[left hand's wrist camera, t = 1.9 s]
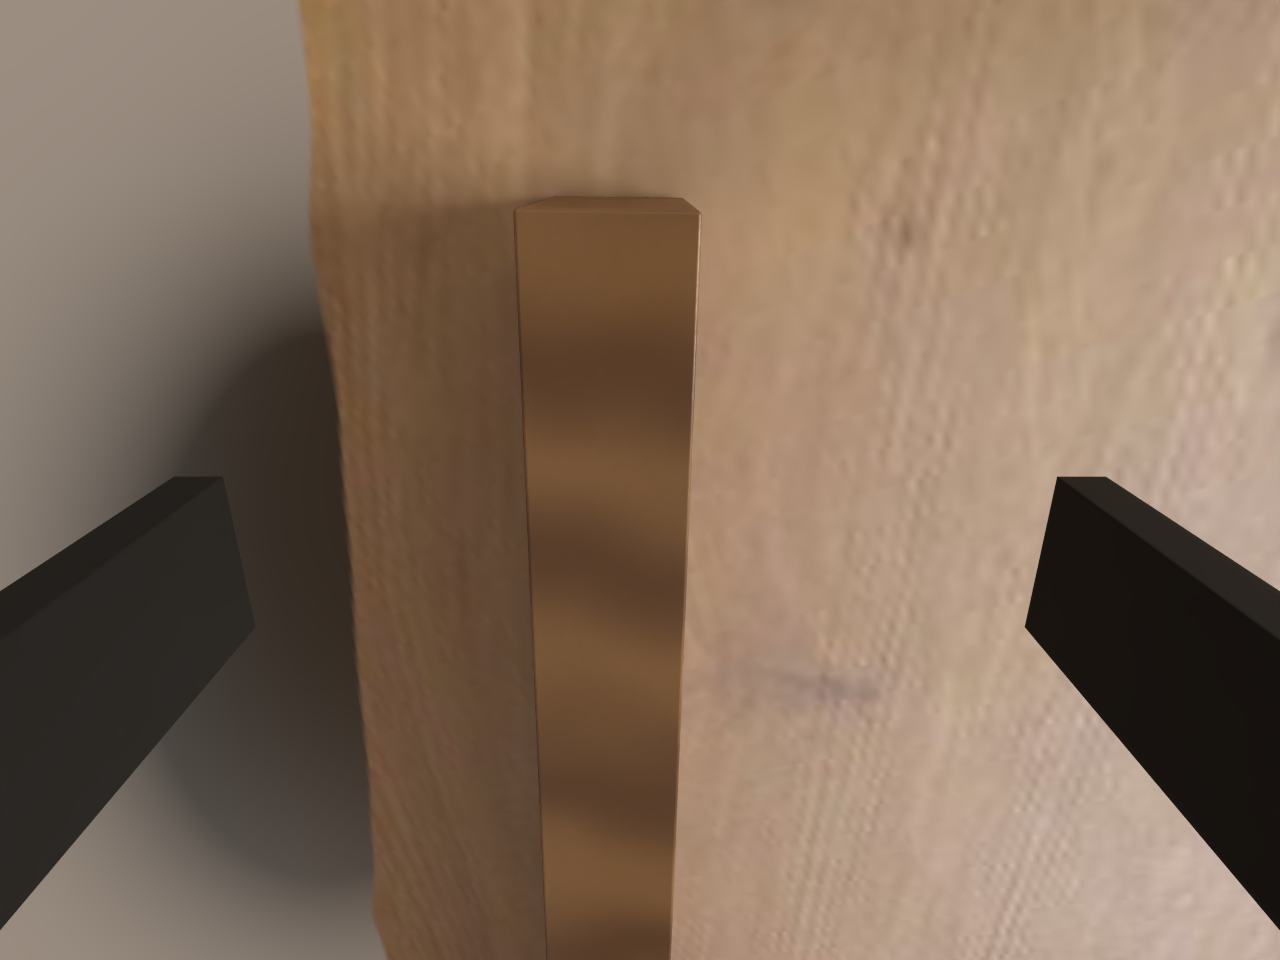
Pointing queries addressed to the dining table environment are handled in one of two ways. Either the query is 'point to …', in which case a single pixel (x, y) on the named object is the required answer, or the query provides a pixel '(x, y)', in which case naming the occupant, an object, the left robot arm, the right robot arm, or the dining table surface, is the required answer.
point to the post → (608, 553)
